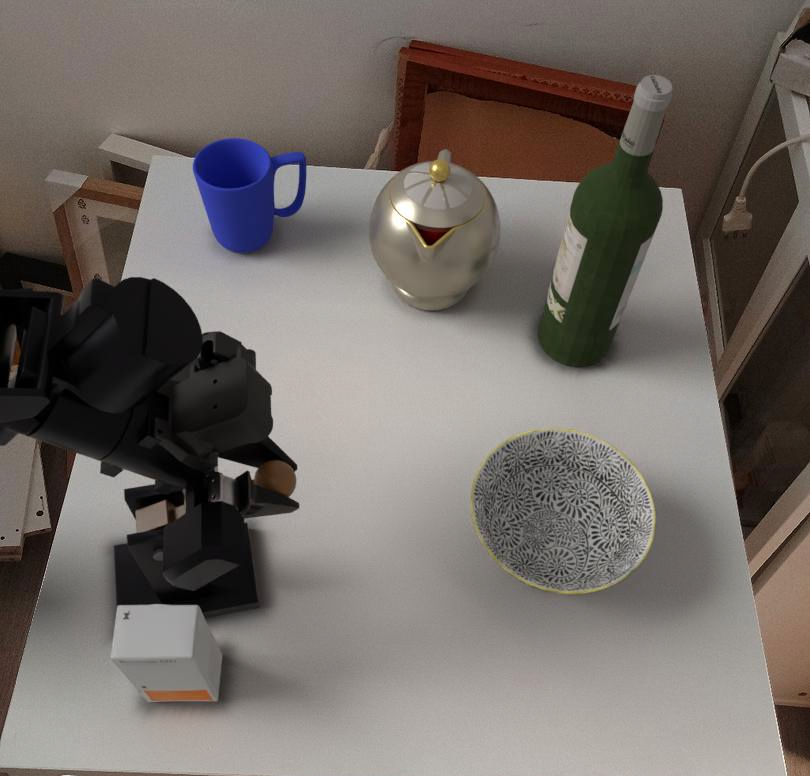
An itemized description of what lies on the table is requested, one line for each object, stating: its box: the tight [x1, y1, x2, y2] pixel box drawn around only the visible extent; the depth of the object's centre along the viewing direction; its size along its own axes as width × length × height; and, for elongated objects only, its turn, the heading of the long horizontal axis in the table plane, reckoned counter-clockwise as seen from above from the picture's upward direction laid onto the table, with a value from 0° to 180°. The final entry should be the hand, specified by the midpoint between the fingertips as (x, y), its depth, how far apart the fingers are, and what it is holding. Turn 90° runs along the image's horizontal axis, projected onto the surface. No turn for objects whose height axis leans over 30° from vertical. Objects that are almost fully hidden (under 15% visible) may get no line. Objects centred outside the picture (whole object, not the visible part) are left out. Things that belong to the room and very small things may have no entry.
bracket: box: [113, 483, 261, 618], centre depth 69 cm, size 12×8×13 cm, turn 102°
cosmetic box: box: [110, 604, 223, 703], centre depth 65 cm, size 6×4×12 cm
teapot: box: [368, 148, 501, 311], centre depth 86 cm, size 18×14×16 cm
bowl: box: [470, 427, 657, 595], centre depth 74 cm, size 16×16×8 cm
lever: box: [135, 460, 297, 533], centre depth 64 cm, size 13×3×3 cm, turn 102°
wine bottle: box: [537, 74, 673, 368], centre depth 76 cm, size 8×8×30 cm
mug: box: [192, 137, 308, 254], centre depth 91 cm, size 8×12×10 cm
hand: (295, 489), depth 64 cm, fingers closed on lever, 3 cm apart
